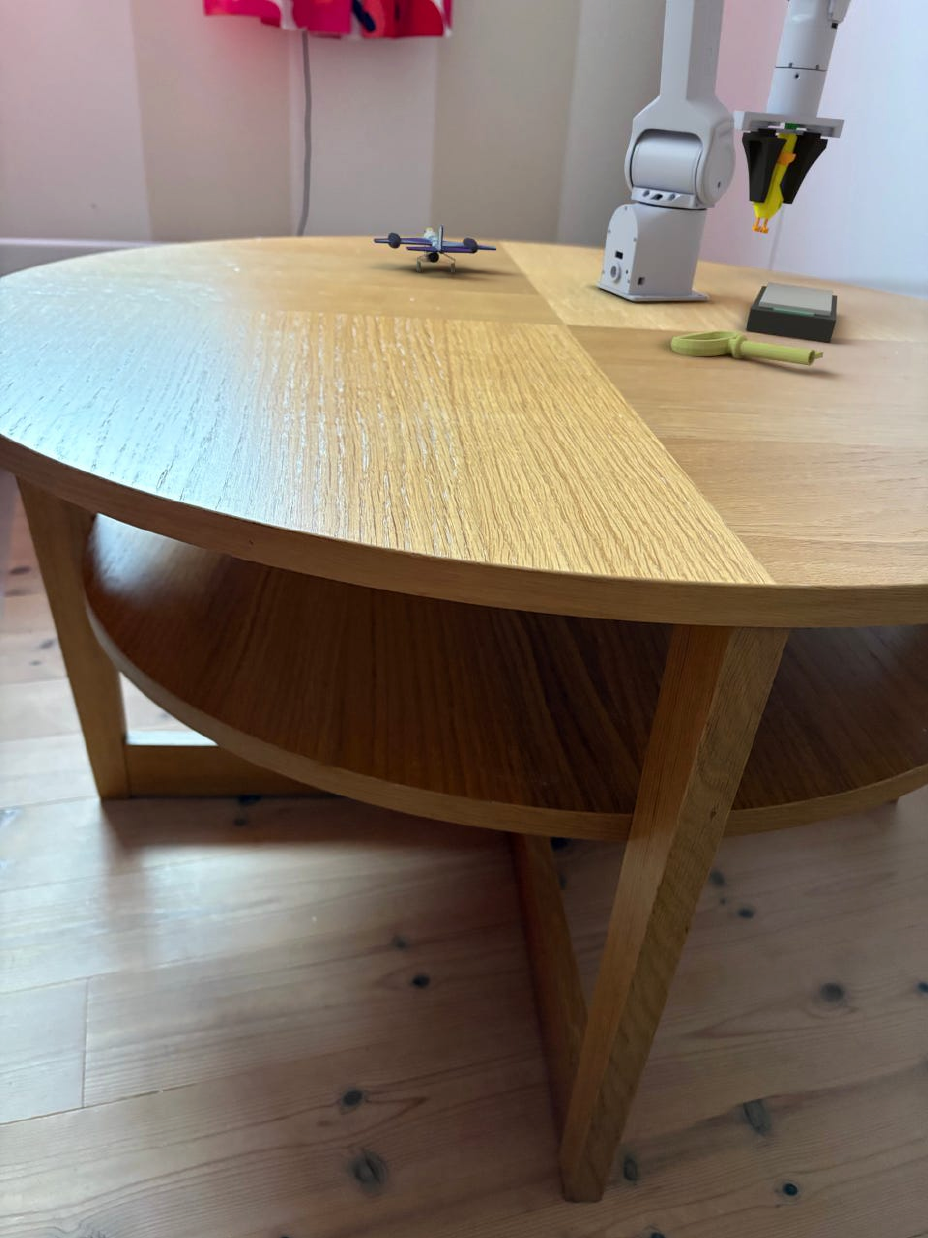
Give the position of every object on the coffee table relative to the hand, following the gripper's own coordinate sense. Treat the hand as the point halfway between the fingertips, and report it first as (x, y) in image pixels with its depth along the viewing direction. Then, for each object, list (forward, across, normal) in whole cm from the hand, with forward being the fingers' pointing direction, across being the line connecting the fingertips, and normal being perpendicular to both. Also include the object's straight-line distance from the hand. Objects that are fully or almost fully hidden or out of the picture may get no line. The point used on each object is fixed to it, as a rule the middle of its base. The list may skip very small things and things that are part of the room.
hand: (770, 202), depth 107 cm
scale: (+8, +14, +23) cm, 28 cm away
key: (+9, +29, +34) cm, 45 cm away
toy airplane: (+9, +41, -6) cm, 42 cm away
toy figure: (+3, +1, 0) cm, 4 cm away
